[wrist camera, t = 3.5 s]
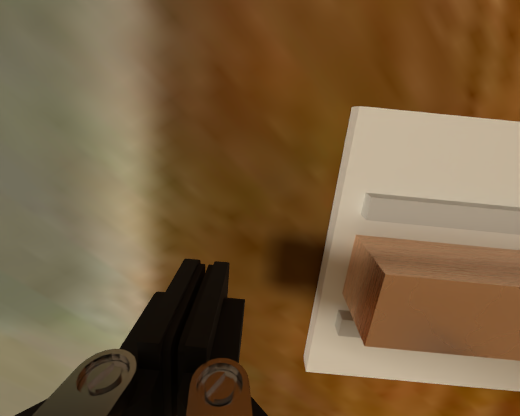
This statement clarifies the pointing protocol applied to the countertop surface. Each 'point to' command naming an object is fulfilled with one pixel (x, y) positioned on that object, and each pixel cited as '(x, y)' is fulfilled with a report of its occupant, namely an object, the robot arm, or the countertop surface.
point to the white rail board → (415, 228)
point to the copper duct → (435, 297)
